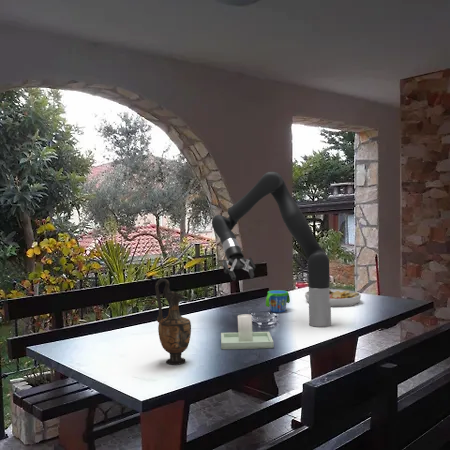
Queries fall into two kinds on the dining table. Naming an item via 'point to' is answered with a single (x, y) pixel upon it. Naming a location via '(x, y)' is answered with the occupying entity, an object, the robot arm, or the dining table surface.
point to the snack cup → (277, 300)
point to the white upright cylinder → (245, 328)
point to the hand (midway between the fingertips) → (243, 278)
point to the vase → (173, 326)
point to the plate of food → (341, 297)
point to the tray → (258, 342)
